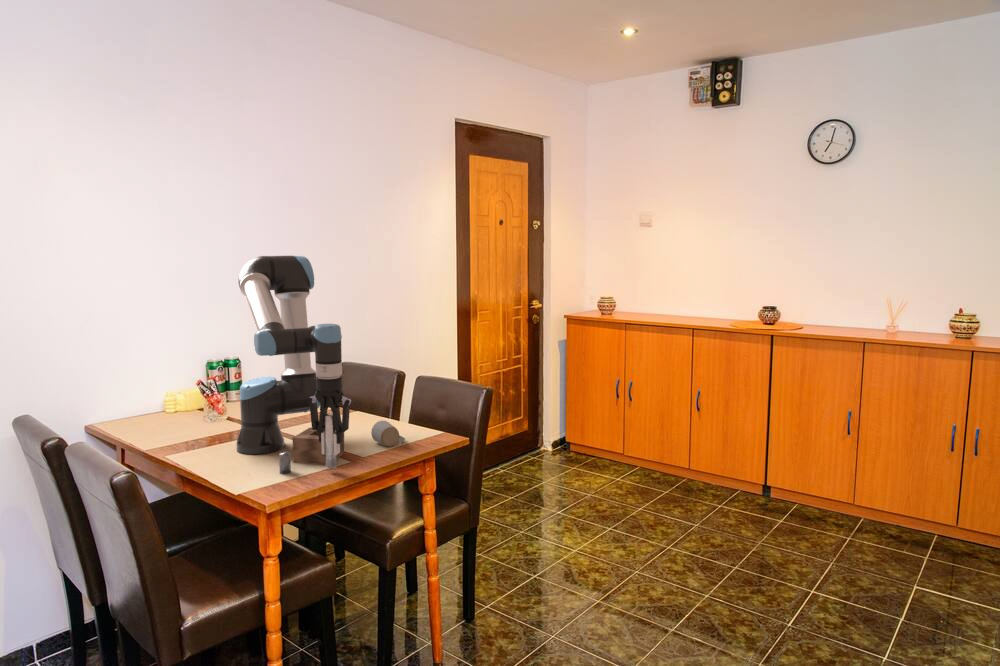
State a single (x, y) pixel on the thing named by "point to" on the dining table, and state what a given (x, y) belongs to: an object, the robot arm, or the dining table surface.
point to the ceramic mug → (386, 434)
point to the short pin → (285, 462)
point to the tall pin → (330, 441)
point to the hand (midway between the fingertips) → (330, 453)
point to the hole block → (311, 448)
